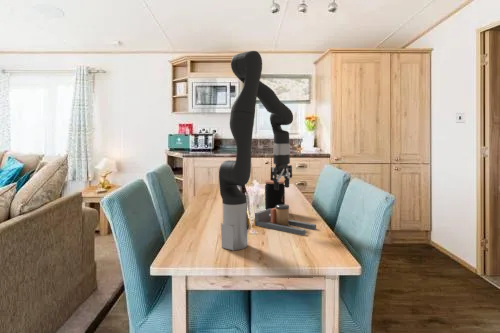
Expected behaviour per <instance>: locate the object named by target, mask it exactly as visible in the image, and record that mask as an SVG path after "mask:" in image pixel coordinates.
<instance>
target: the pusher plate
mask: <svg viewBox="0 0 500 333" xmlns="http://www.w3.org/2000/svg"><path fill="white" fill-rule="evenodd" d="M269 216H271V222H270V223H273V224H276V208H273V209H271V214H269Z"/></svg>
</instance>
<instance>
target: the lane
mask: <svg viewBox="0 0 500 333" xmlns="http://www.w3.org/2000/svg"><path fill="white" fill-rule="evenodd" d="M269 214H271V208H269V209H266V210H265V209H264V210H260V211H258V212H257V211H256V212H254V226H256V227H260V228H265V229H271V230H275V231H279V232H280V231H281V232H284V233H289V234H294V235H299V236H304V235H306V229H307V230H312V231H315V230H317V224H315V223H309V222H305V221H298V220H293V219H289V227H288V226H283V225H278V224H273V223H271V216H269ZM302 228H303V229H302Z"/></svg>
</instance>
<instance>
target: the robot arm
mask: <svg viewBox="0 0 500 333" xmlns="http://www.w3.org/2000/svg"><path fill="white" fill-rule="evenodd" d="M230 67H231V70H232V72H233V75H234V76H236V78H237V79H239V81H240V82H242V84H243V86H242V88H241V91H240V92H239V94H238V95H237V97H236V98H235V100H234V102H233V104H232V106H231V109H230V117H229V129H230V132H231V135H232V138H233V139H234V142H235V146H236V155H235V156H236V158H235V160H229V159H227V160H224V161H223V162H222V163H221V164H220V166H219V170H218V181H219V182H218V183H219V184H218V185H219V195H220V198H221V200H222V223H220V230H221V232H220V233H221V237H220V238H221V248H222V249H226V250H229V251H238V250H243V249H246V248H247V247H248V220H247V219H248V216H247V215H248V214H247V211H248V210H247V208H248V207H247V195H246V194H245V193H244V192H243V191H241V190H240V189H239V186H240V187H242V186H245V185H247V184H248V183H249V180H250V178H251V175H252V144H253V132H254V125H255V118H256V117H255V116H256V106H257V105H256V104H257V99H258V100H259V102H260V103H261V104H262V106H263V107H264V109H265V110H266V111H267V112H268V113H270V114H269V122H270V126H271V128H272V130H271V131H272V132H273V148H272V149H273V151H272V152H273V155H272V156H273V157H272V158H273V160H272V161H273V162H272V163H273V164H274V165H275V166H273V167H270V180H271V181H274V190H279V182H278V181H279V180H281V178H282V177H283V178H284V181H285V182H284V185H285V189H286V188H290V180H291V179H292V178H293V165H290V164H291V149H290V148H291V147H290V132H289V131H288V130H284V129H283V128H282V126H289V125H291V124H292V122H293V121H294V114H293V111H292V110H291V109H290V108H289V107H288V106H287V105H286V104H285V103H283V102H282V101H281V100H280V98H279V96H278V95H277V94H276V92H275V91H274V89H272V88H271V87H269V86H268V84H267V85H266V84H265V83H264V82H262V81H261V77H262V71H263V58H262V56H261V54H260V52H258V51H257V50H250V51H245V52H239V53H238V54H235V55H233V56H232V58H231V61H230Z"/></svg>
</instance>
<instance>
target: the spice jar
mask: <svg viewBox="0 0 500 333" xmlns="http://www.w3.org/2000/svg"><path fill="white" fill-rule="evenodd" d="M289 220H290V205H289V204H286V203H285V204H278V205H276V224H278V225H283V226H288V227H290V225H289Z"/></svg>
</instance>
